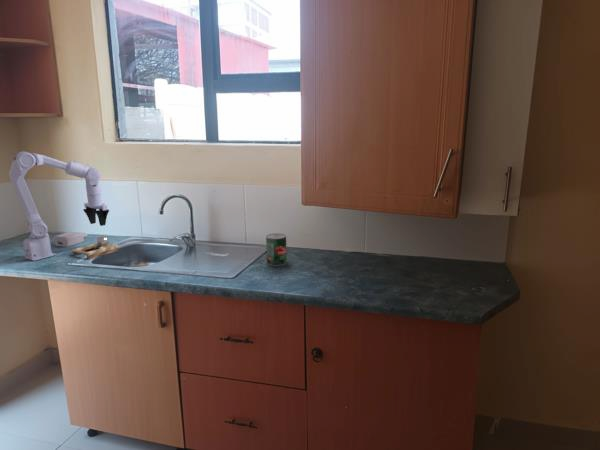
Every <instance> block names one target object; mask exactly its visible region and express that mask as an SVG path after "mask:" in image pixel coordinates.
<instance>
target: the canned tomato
mask: <svg viewBox="0 0 600 450" xmlns="http://www.w3.org/2000/svg"><path fill="white" fill-rule="evenodd" d="M265 244H266V247H265V248H266V264H267V265H268V266H271V267H272V266H273V267H280V266H285V265H287V263H288V259H287V258H288V255H287V254H288V252H287V234H285V233H284V234H283V233H280V232H279V233H270V234H267V235H266V236H265Z"/></svg>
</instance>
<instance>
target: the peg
mask: <svg viewBox="0 0 600 450" xmlns="http://www.w3.org/2000/svg"><path fill="white" fill-rule="evenodd" d="M96 243H97V244H98V245H101V247H104V246H106V244H108V243H109V237H108V236H99V237H97V238H96Z"/></svg>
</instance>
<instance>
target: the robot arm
mask: <svg viewBox="0 0 600 450" xmlns="http://www.w3.org/2000/svg"><path fill="white" fill-rule="evenodd" d="M35 165H36V166H37V167H38V166H42V165H45V166H49V167H53V168H57V169H61V170H64V172H65V173H66V174H67V175H70V176H72V177H76V178H80V179H84V180H85V190H86V197H87V198H86V199H87V202H85V203H83V205H84V208H83V209H82V211H83V212H84V214H85V215H86V217H87V219H88V221H89V224H90V225H93V224H96V223H97V221H96V220H97V218H98V222H99V223H98V224H99V225H100V226H101V227H103V226H106V223H107V218H108V217H107V216H108V215H109V212H110V209H108V205H106V204H105V202H103V200H102V199H103V198H102V190H101V184H100V178H101V174H100V171H99V170H98V169H97V168H94V167H93V166H89V165H88V164H86V165H85V164H83V163H79V162H78V161H76V160H73V161H72V160H71V161H68V162H65V161H62V160H59V159H56V158H53V157H49V156H48V155H47V156H46V155H44V154H41V153H40V154H38V153H34V152H33V153H32V152H31V153H30V152H28V151H20V152H18V153H17V154H16V155H15V156H14V158H13V159H12V163H11V167H10V168H9V169H10V170H9V173H8V177H9V178H10V181H11V184H12V186H13V188H14V190H15V193H16V196H17V198H18V199H19V202H20V205H21V208H22V209H23V212H24V214H25V216H26V219H27V221H28V223H27V224H28V225H27V228H28V230H29V231H30V234H29V235H28V238H25V239H24V240H23V242H22V245H23V246H22V247H23V252H24V259H27V260H30V261H33V262H34V261H38V260H43V259H46V258H51V257H55V256H57V254H56V253H54V252H53V251H52V247H51V240H50V235H49V233H48V231H49V228H48V225H47V224H45V222H44V220H42V218H41V216H40V214H39V212H38V209H37V206H36V204H35V202H34V200H33V197H32V194H31V192H30V189H29V187H28V184H27V182H26V180H25V176H26V175H27V173H28V171H29V170H30V169H32V168H33V167H34V166H35ZM96 217H97V218H96Z"/></svg>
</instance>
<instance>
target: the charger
mask: <svg viewBox="0 0 600 450" xmlns="http://www.w3.org/2000/svg"><path fill="white" fill-rule="evenodd" d="M88 236H89V233H86V232H76V231H68V232H66V233H65V232H64V233H60V234H58V235H54V236H52V240H53V241H52V242H53V245H54V246H55V247H56V246H57V247H63V248H69V247H72V246H75V245H78V244H81V243H82V244H83V243H84V242H85V239H86V238H88Z"/></svg>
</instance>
